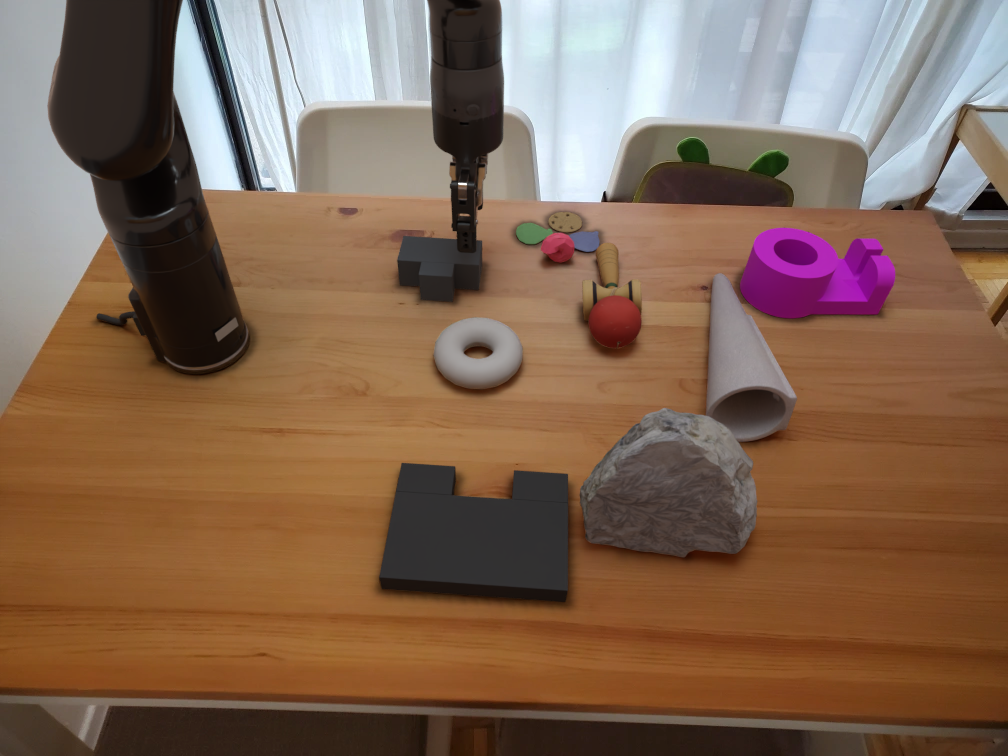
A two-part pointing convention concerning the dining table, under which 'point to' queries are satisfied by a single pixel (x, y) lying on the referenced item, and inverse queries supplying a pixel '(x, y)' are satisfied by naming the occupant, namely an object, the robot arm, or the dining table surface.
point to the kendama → (612, 302)
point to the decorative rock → (672, 488)
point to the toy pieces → (559, 236)
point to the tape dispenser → (815, 275)
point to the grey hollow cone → (743, 371)
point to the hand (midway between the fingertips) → (470, 229)
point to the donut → (484, 369)
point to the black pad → (478, 537)
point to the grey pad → (438, 267)
